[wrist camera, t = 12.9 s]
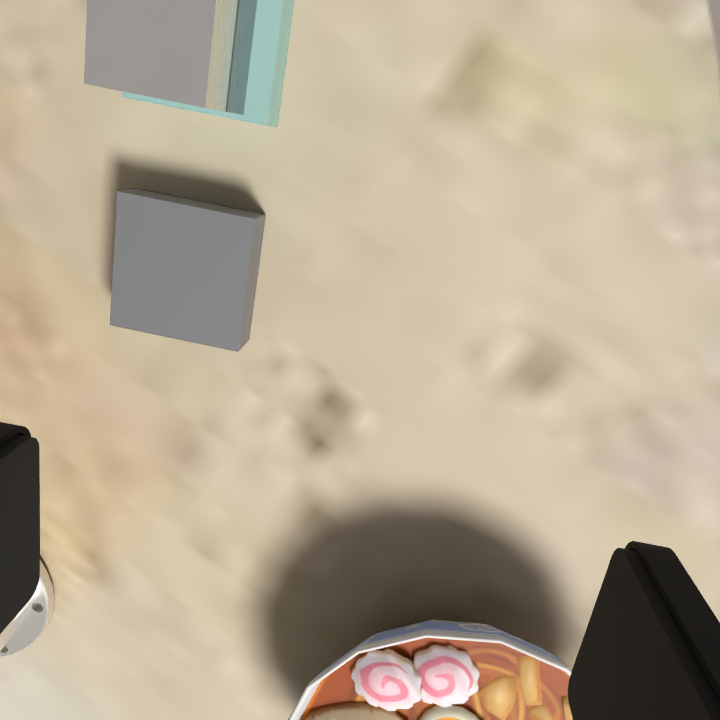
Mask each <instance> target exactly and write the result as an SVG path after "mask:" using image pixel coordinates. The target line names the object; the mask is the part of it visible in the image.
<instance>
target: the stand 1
mask: <svg viewBox="0 0 720 720" xmlns="http://www.w3.org/2000/svg"><path fill="white" fill-rule="evenodd" d="M293 5H294V0H257V8H256V16H255V25H254V33H253V41H252V49H251V58H250V66H249V74H248V83H247V91H246V99H245V108H244V115H241V114H235V113H230V112H224V111H219V110H213V109H208V108H202V107H197V106H193V105H188V104H183V103H178V102H173V101H168V100H163V99H158V98H153V97H148V96H143V95H139V94H134V93H129V92H124V91H122V97H125V98H130V99H135V100H140V101H145V102H150V103H155V104H160V105H165V106H171V107H176V108H181V109H186V110H191V111H196V112H201V113H206V114H211V115H216V116H221V117H226V118H231V119H236V120H241V121H246V122H251V123H256V124H261V125H267V126H273V127H277V125H278V118H279V110H280V103H281V95H282V88H283V80H284V73H285V65H286V58H287V50H288V43H289V35H290V28H291V20H292V13H293Z"/></svg>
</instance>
